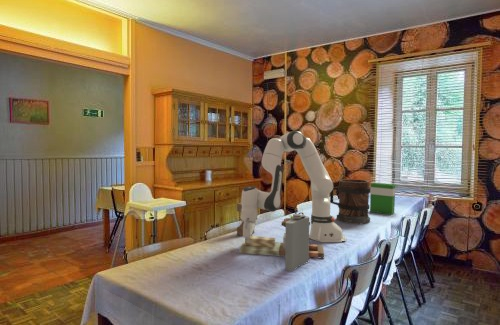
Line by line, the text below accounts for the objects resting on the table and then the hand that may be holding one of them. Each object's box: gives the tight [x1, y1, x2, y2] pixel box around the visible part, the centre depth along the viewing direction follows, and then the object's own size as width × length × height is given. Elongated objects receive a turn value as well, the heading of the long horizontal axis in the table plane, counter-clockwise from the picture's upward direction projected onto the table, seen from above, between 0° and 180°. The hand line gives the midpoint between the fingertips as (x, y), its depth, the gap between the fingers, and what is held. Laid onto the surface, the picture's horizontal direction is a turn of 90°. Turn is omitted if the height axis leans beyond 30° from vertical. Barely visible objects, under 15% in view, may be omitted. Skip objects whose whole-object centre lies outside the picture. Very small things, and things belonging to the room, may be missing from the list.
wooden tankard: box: [329, 178, 371, 225], centre depth 249 cm, size 24×30×30 cm
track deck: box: [239, 240, 325, 258], centre depth 178 cm, size 44×14×2 cm, turn 81°
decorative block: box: [236, 202, 255, 237], centre depth 210 cm, size 11×6×20 cm, turn 134°
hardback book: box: [369, 182, 396, 215], centre depth 276 cm, size 18×7×24 cm, turn 52°
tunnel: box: [282, 232, 286, 249], centre depth 177 cm, size 8×8×6 cm
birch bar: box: [244, 235, 276, 248], centre depth 180 cm, size 16×4×4 cm, turn 81°
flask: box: [284, 213, 310, 272], centre depth 157 cm, size 17×5×25 cm, turn 140°
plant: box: [281, 208, 311, 227], centre depth 237 cm, size 20×20×11 cm
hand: (249, 241), depth 181 cm, fingers closed on birch bar, 4 cm apart
